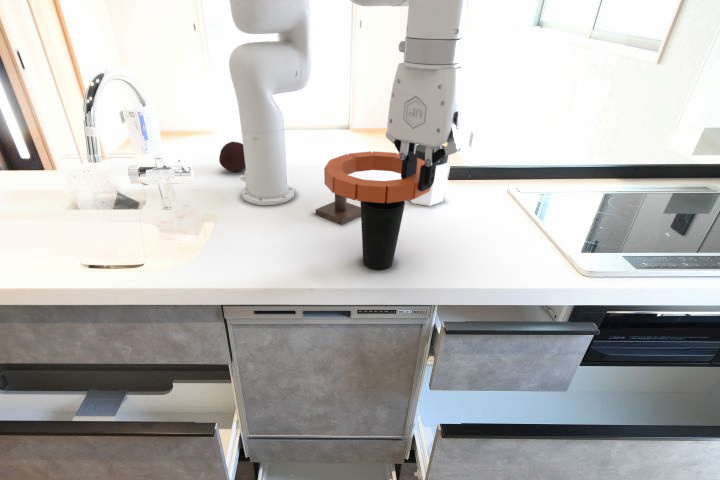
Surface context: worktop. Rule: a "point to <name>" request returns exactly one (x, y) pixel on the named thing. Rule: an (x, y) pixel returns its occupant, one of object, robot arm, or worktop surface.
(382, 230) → the cup
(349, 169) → the ring
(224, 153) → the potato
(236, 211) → the worktop surface
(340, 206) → the stand
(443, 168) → the jar
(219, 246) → the worktop surface
